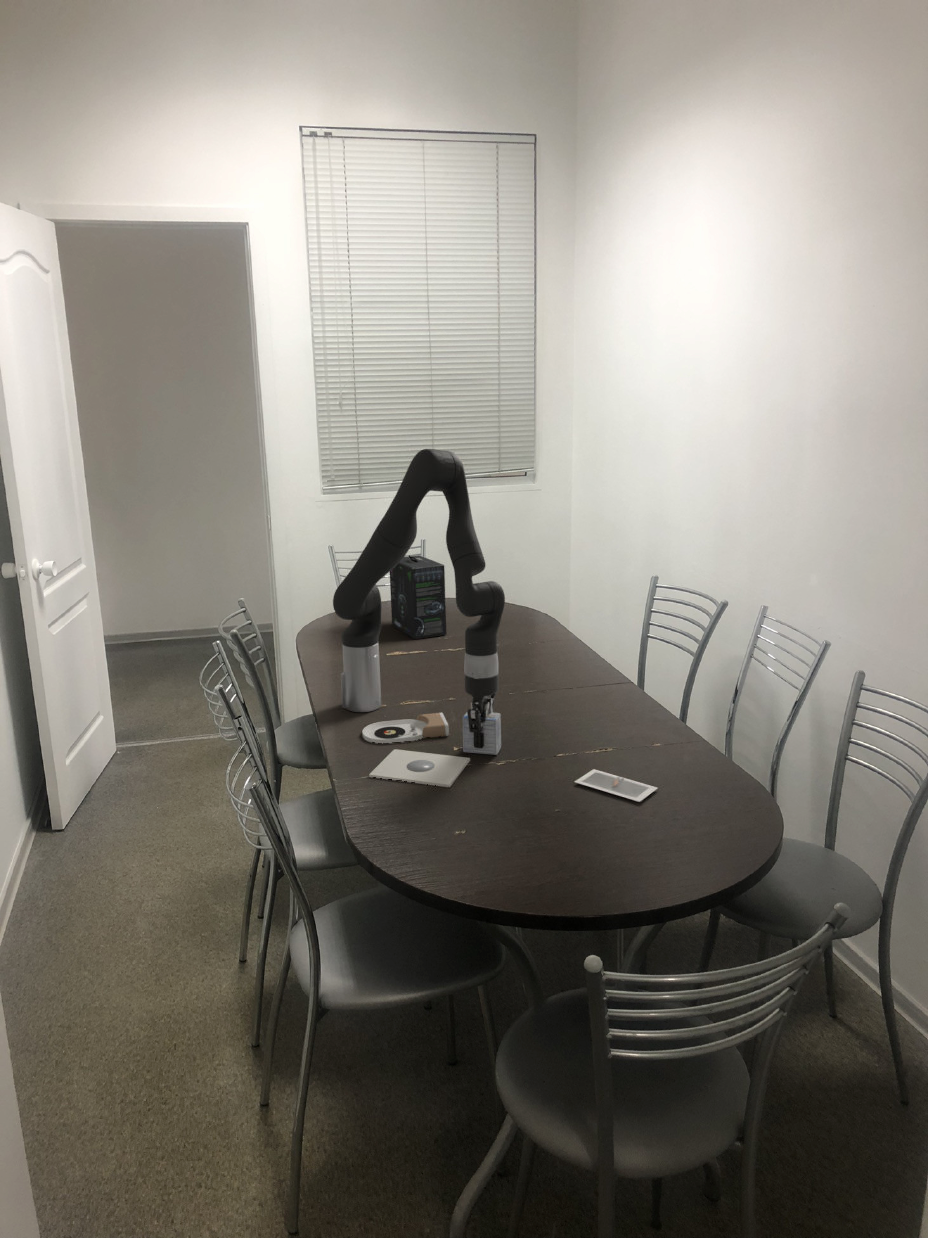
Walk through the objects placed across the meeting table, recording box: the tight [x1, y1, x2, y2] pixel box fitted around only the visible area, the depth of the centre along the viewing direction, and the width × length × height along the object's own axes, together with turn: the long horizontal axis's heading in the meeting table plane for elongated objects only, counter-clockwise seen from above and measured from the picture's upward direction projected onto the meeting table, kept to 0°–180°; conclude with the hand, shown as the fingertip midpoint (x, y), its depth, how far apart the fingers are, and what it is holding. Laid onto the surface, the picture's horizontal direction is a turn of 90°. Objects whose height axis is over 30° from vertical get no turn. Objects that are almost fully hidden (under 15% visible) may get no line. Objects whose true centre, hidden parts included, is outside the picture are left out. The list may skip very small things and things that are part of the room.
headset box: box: [389, 554, 448, 640], centre depth 296 cm, size 22×12×26 cm, turn 25°
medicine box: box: [462, 712, 502, 756], centre depth 197 cm, size 8×4×9 cm, turn 74°
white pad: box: [368, 748, 471, 788], centre depth 189 cm, size 18×14×1 cm
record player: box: [361, 712, 450, 745], centre depth 209 cm, size 12×3×20 cm
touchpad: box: [574, 768, 658, 803], centre depth 178 cm, size 8×15×2 cm, turn 51°
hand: (482, 742), depth 197 cm, fingers closed on medicine box, 4 cm apart
